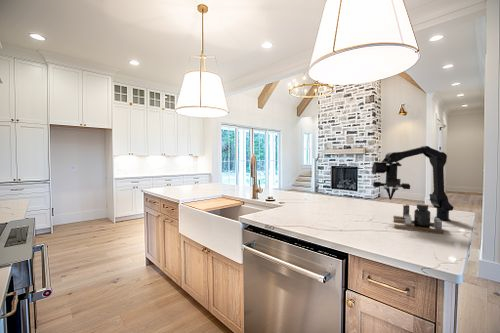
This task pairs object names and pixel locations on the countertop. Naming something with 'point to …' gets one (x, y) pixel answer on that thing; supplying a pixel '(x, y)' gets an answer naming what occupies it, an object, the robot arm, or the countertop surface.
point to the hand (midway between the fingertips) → (390, 199)
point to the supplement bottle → (422, 216)
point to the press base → (436, 224)
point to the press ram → (406, 215)
